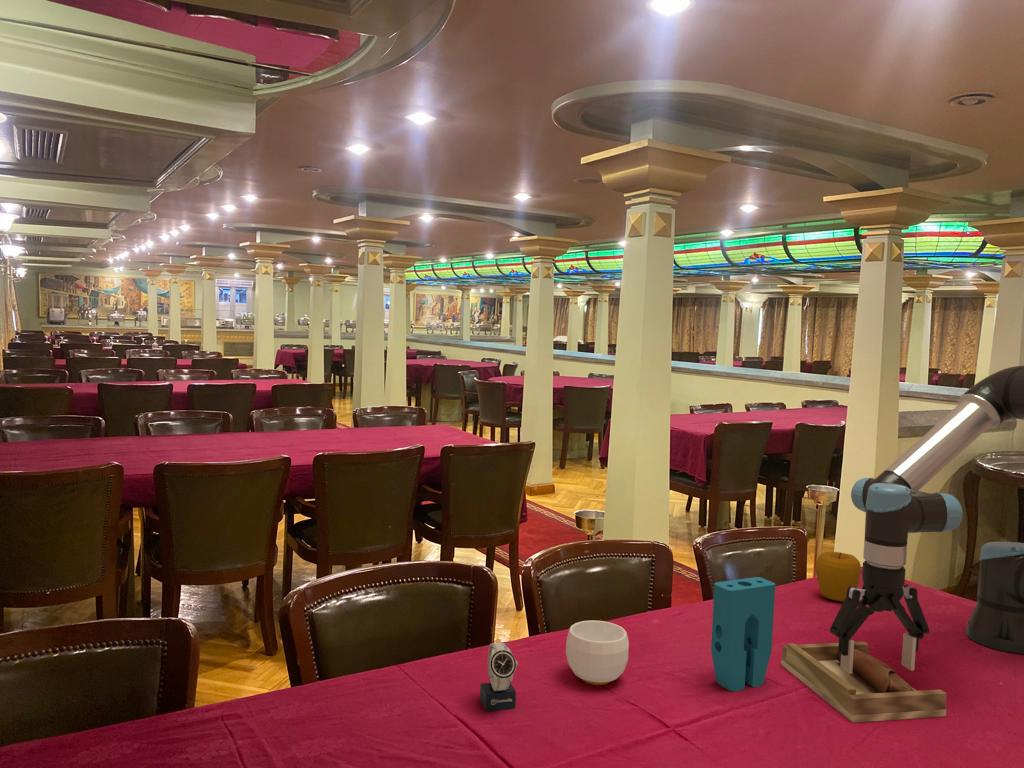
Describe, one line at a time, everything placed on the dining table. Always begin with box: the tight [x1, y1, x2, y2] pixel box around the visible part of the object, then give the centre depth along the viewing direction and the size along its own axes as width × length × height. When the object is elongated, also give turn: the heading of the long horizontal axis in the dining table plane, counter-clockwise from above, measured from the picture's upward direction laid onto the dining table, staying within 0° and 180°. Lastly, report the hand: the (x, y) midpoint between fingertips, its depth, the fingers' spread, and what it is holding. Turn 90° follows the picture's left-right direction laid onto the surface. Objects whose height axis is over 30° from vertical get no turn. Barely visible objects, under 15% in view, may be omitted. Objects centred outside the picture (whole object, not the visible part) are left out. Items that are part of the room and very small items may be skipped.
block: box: [710, 576, 776, 692], centre depth 148 cm, size 12×5×20 cm, turn 115°
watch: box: [479, 642, 519, 712], centre depth 136 cm, size 6×8×11 cm
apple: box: [815, 551, 862, 603], centre depth 199 cm, size 11×11×13 cm
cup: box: [565, 619, 630, 686], centre depth 148 cm, size 12×12×10 cm
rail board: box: [780, 641, 948, 723], centre depth 147 cm, size 19×24×5 cm
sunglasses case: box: [836, 649, 916, 693], centre depth 148 cm, size 18×7×7 cm
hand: (877, 669), depth 148 cm, fingers open, 13 cm apart
